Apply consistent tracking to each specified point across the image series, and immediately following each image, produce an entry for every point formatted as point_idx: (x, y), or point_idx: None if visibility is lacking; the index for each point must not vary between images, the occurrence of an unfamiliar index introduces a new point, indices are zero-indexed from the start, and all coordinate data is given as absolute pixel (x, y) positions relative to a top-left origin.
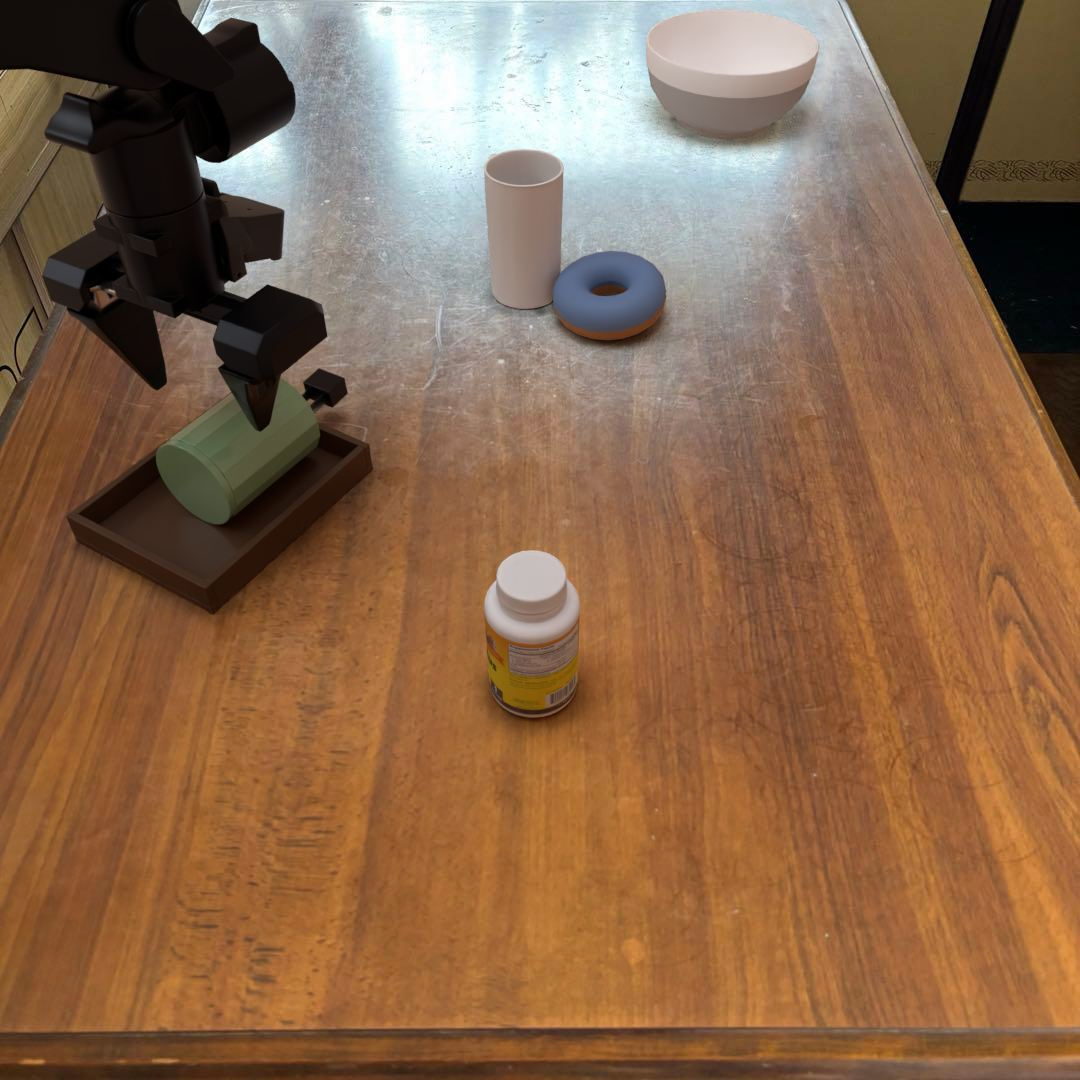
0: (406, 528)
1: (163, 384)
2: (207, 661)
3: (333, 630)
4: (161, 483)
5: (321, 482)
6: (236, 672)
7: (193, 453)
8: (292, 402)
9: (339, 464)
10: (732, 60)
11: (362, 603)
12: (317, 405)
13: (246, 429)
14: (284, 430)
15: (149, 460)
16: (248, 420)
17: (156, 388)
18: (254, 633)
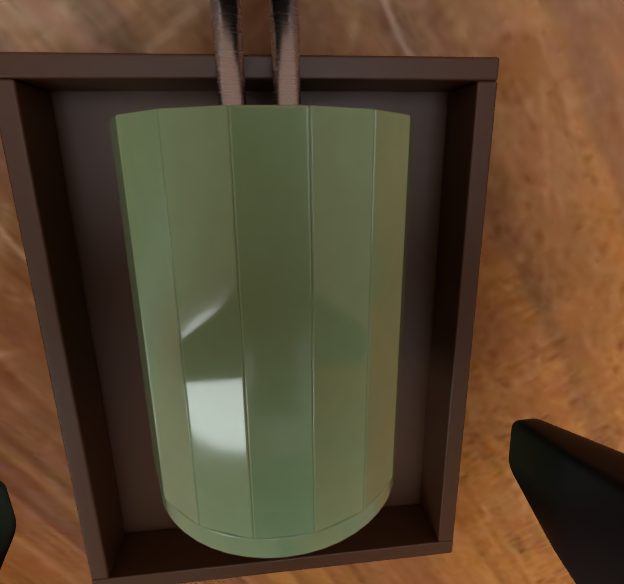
0: (607, 190)
1: (5, 502)
2: (474, 553)
3: (601, 428)
4: (117, 380)
5: (475, 246)
6: (520, 543)
7: (326, 543)
8: (386, 166)
9: (476, 171)
10: None
11: (616, 369)
12: (295, 4)
13: (367, 376)
14: (404, 253)
15: (77, 409)
16: (545, 533)
17: (10, 535)
18: (502, 492)
